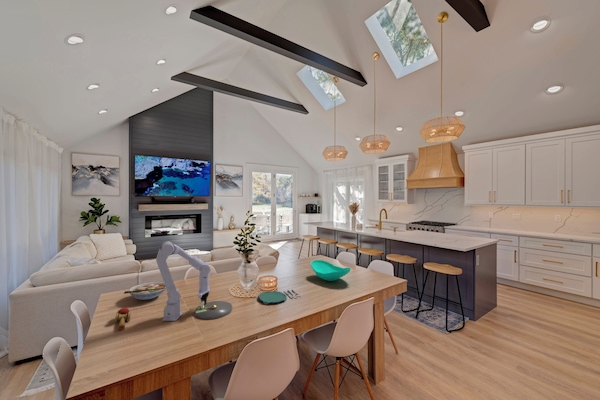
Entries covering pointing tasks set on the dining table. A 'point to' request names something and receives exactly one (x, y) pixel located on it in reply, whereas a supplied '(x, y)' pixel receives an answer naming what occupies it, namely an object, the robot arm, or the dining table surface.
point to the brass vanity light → (206, 307)
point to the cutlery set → (273, 297)
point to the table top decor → (328, 270)
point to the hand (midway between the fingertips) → (203, 304)
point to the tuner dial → (214, 310)
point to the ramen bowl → (147, 290)
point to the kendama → (122, 317)
